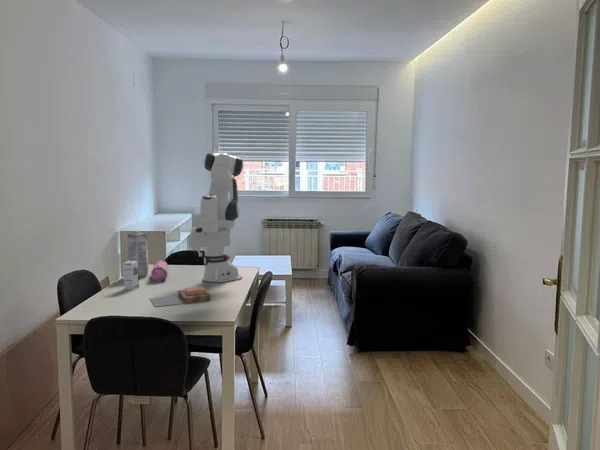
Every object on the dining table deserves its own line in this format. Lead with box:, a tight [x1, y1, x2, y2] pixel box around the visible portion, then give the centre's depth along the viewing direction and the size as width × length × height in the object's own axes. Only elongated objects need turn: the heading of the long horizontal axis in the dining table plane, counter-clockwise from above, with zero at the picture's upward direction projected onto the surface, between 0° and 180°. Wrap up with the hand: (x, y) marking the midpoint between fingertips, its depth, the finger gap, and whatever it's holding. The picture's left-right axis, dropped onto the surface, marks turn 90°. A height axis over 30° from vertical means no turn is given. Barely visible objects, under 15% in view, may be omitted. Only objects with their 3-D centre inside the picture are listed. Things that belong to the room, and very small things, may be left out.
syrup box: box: [122, 260, 140, 291], centre depth 276 cm, size 6×6×14 cm
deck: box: [177, 289, 211, 304], centre depth 255 cm, size 12×16×2 cm
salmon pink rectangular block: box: [184, 286, 207, 295], centre depth 255 cm, size 9×6×2 cm, turn 115°
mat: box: [149, 294, 186, 308], centre depth 250 cm, size 14×16×1 cm
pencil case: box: [150, 260, 169, 283], centre depth 301 cm, size 21×9×9 cm, turn 11°
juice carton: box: [127, 230, 149, 278], centre depth 306 cm, size 9×10×27 cm
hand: (210, 255), depth 257 cm, fingers open, 8 cm apart
